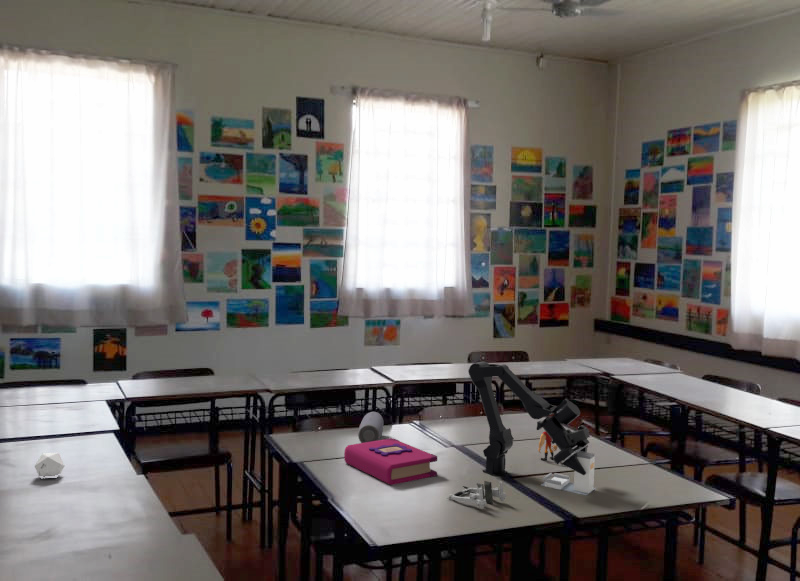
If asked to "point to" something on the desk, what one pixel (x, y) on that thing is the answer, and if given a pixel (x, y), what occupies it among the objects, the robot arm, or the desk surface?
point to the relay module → (586, 481)
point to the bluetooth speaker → (371, 427)
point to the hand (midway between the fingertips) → (588, 471)
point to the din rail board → (561, 483)
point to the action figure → (548, 444)
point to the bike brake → (480, 494)
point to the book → (390, 460)
